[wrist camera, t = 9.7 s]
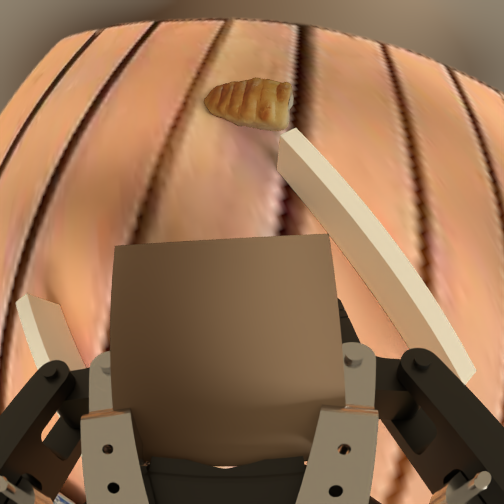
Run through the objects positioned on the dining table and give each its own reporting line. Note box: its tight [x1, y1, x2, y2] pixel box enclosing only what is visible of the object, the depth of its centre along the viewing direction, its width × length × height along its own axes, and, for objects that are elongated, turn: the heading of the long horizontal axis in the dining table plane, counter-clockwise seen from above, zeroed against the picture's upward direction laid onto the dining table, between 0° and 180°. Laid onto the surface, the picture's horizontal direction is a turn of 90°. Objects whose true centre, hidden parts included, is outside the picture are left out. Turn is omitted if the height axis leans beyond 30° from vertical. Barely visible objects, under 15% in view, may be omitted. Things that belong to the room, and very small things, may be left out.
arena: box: [16, 128, 476, 456], centre depth 19 cm, size 27×24×5 cm
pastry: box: [204, 78, 294, 131], centre depth 28 cm, size 9×7×4 cm
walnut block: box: [110, 234, 346, 466], centre depth 11 cm, size 5×5×10 cm
